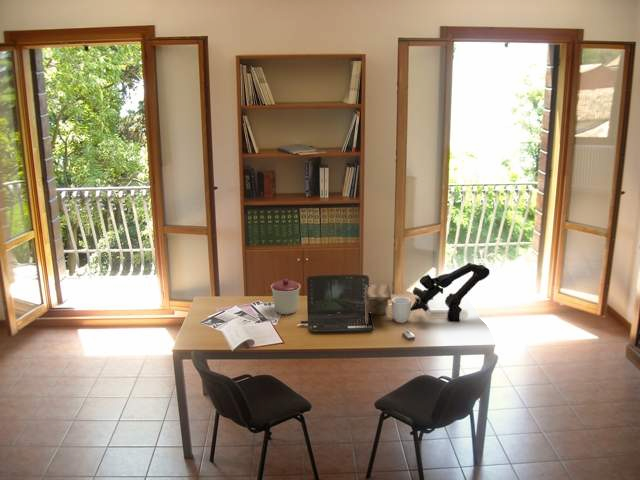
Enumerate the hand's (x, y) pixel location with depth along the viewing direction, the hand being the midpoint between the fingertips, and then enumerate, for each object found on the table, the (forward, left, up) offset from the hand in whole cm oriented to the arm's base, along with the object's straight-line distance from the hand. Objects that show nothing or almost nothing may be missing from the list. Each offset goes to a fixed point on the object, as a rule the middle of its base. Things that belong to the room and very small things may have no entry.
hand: (410, 310), depth 358 cm
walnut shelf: (+20, -1, -7) cm, 21 cm away
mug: (+6, 0, -7) cm, 10 cm away
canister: (+75, -11, -7) cm, 76 cm away
